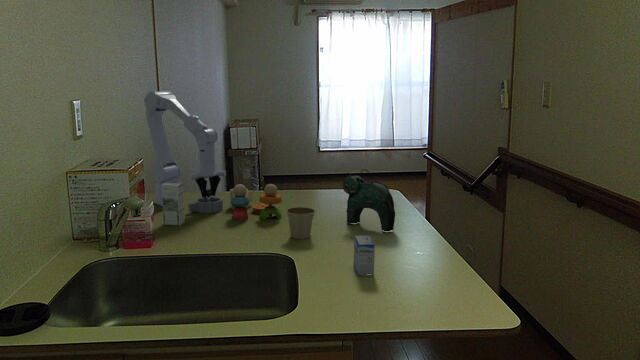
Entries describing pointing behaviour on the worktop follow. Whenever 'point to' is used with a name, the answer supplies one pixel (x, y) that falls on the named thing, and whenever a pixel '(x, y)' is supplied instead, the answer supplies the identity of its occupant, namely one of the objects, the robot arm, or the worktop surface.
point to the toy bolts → (263, 209)
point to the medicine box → (364, 255)
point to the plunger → (209, 194)
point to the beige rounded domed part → (248, 193)
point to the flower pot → (300, 221)
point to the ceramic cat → (369, 200)
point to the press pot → (206, 205)
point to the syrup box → (173, 203)
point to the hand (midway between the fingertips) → (208, 196)
